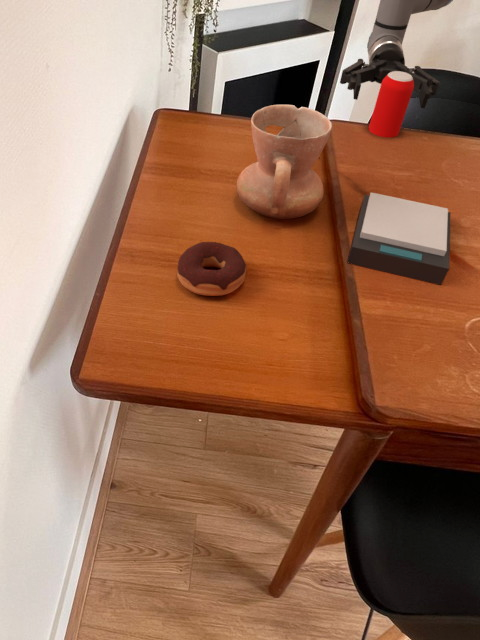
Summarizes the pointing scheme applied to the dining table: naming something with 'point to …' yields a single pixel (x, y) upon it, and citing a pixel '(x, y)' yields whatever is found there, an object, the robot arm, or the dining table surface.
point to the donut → (211, 280)
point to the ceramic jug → (285, 162)
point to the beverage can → (391, 104)
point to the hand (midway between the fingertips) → (391, 96)
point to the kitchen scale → (402, 238)
